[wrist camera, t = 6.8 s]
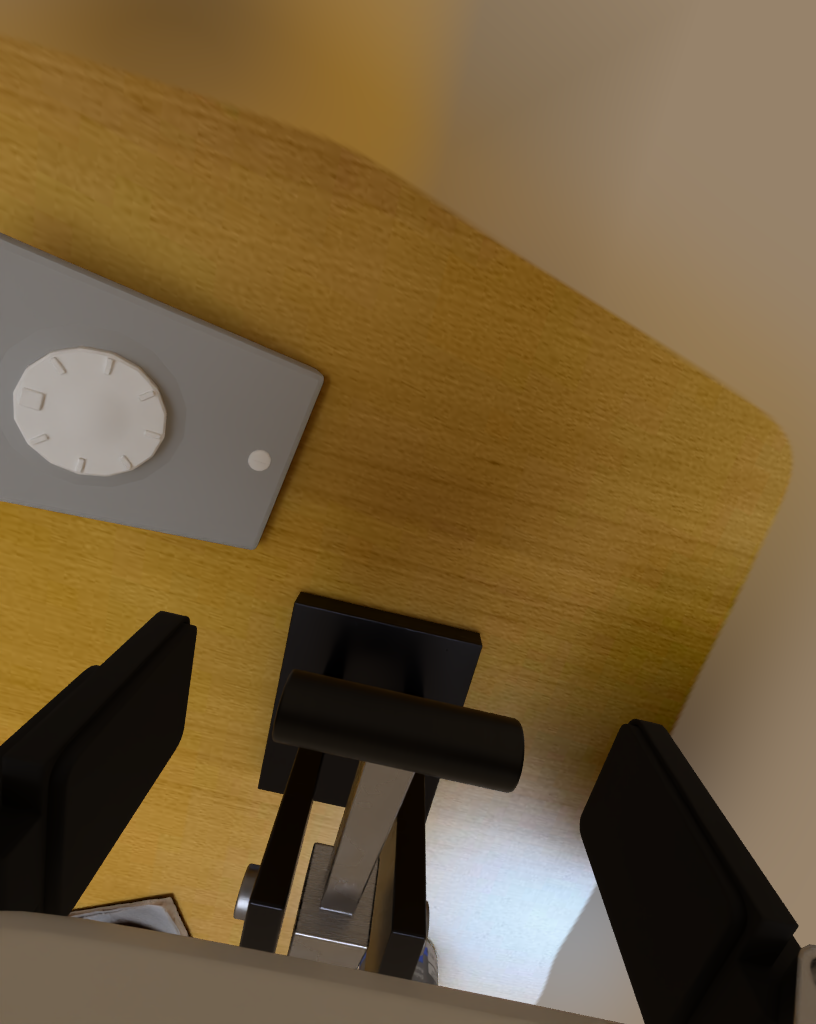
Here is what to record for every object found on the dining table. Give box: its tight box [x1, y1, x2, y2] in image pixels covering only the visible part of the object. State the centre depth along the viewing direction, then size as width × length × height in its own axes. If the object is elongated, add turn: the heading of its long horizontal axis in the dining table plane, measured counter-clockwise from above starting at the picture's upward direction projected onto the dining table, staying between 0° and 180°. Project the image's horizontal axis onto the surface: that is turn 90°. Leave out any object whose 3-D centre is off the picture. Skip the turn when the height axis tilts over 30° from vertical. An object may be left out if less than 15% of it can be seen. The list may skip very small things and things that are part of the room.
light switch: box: [0, 233, 324, 550], centre depth 19 cm, size 8×6×14 cm
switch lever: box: [272, 669, 524, 969], centre depth 13 cm, size 12×5×2 cm, turn 166°
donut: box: [68, 897, 189, 937], centre depth 30 cm, size 8×8×2 cm
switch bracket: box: [234, 592, 482, 980], centre depth 20 cm, size 11×9×12 cm
